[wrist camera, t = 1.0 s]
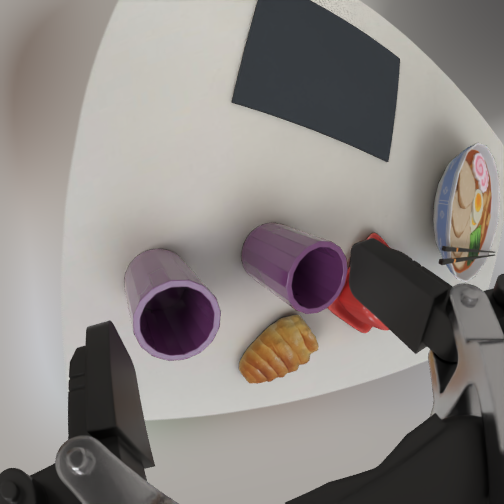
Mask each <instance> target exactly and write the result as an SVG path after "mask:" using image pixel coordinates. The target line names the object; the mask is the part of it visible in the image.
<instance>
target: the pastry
mask: <svg viewBox="0 0 504 504" xmlns="http://www.w3.org/2000/svg"><path fill="white" fill-rule="evenodd" d="M317 350H318V343H317V340H316V337H315V336H314V334H313V333H312V332H311V330H310V328H309V327H308V326H307V324H306V323H305V321H304V320H303V319H302V318H301V316H299V315H292V316H289V317H284V318H281V319H279V320H278V321H277V322H276V323H274V324H272V325H270V326H269V327H268V328H267V329H266V330H265V331H263V333H262V334H261V335H260V336H259V337H257V339H256V340H255V341H254V342H252V344H251V345H250V346H249V347H248V348H247V350H246V351H245V353H244V354H243V357H242V359H241V360H240V362H239V370H240V372H241V374H242V375H243V376H244V377H245V378H246V380H247V381H248V382H249V383H262V382H265V381H268V382H269V381H272V380H273V379H275V378H277V377H284V376H285V375H286V374H287V373H290V372H293V371H296V370H297V369H298V366H299V365H300V364H305V363H307V362H308V361H309V359H310V354H311V353H313V352H314V351H317Z"/></svg>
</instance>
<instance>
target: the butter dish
mask: <svg viewBox="0 0 504 504" xmlns="http://www.w3.org/2000/svg"><path fill="white" fill-rule="evenodd" d="M371 238H374V239H376V240H378V241H380V242H381V243H383V244H384V245H386V246H387V247H389V246H388V245H387V244H386V242H385V241H384V240H383V239H382V238H381V237H380V236H379V235H378V234H376V233H372V234H371V235H370V236H369V237H368V238H367V239H366V240H368V239H371ZM389 248H390V247H389ZM349 273H350V267H349V268H348V270H347V276H346V281H345V284H344V286H343V288H342V290H341V292H340V294H339V296H338V297H337V298H336V300H335V301H334V302H333V303H332V304H331V305H330V306H329V307H328V309H329V310H330V311H331V312H332V313H333V314H335V315H336V316H338V317H339V318H340V319H342V320H343V321H345V322H346V323H347V324H349V325H350V326H352V327H353V328H355V329H357V330H358V331H360V332H362V333H367V332H368V331H369V330H370V329H371V328H372V327H376V328H378V329H381V330H390V329H389V328H387V327H386V326H385V325H384V324H383V323H382V322H381V321H380V320H379V319H378V318H377V317H376V316H374V315H373V314H372V313H371V312H370V311H369V310H368V309H367V308H366V307H365V306H364V305H362V304H361V303H360V302H359V301H358V300H357V299H356V298H355V297H354V296H353V294H352V292H351V290H350V287H349Z"/></svg>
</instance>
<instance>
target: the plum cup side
mask: <svg viewBox="0 0 504 504" xmlns="http://www.w3.org/2000/svg"><path fill="white" fill-rule="evenodd" d="M242 263H243V266H244V269H245V271H246V272H247V273H248V274H249V275H250V276H251V277H252V278H253V279H254V280H255V281H257V282H258V283H259V284H261V285H262V286H264V287H265V288H266V289H268V290H269V291H270V292H272V293H273V294H275V295H276V296H277V297H279V298H280V299H281V300H283V301H284V302H286V303H287V304H288V305H290V306H291V307H292V308H294V309H295V310H297V311H299V312H302V313H305V314H311V313H318V312H320V311H322V310H324V309H325V308H327V307H329V306H330V305H331V304H332V303H333V302H334V301H335V300H336V298H337V297H338V296H339V294H340V292H341V290H342V288H343V286H344V284H345V281H346V276H347V261H346V257H345V255H344V253H343V251H342V249H341V248H340V247H339V246H338V245H336V244H334V243H333V242H331V241H328V240H326V239H323V238H320V237H317V236H314V235H311V234H308V233H306V232H303V231H300V230H297V229H294V228H291V227H288V226H285V225H282V224H278V223H266V224H262V225H260V226H258V227H257V228H255V229H254V230H253V231H252V232H251V233H250V234H249V235H248V237H247V238H246V240H245V242H244V245H243V248H242Z"/></svg>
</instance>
